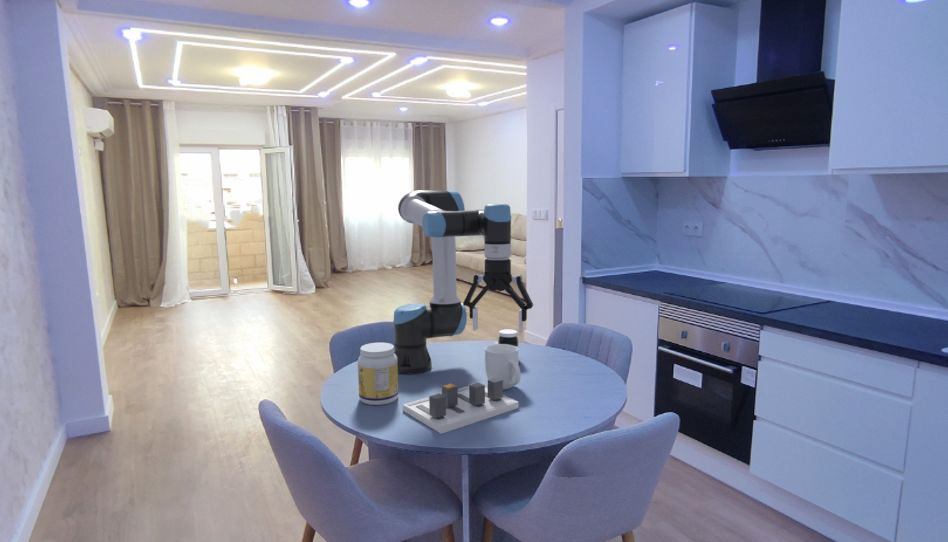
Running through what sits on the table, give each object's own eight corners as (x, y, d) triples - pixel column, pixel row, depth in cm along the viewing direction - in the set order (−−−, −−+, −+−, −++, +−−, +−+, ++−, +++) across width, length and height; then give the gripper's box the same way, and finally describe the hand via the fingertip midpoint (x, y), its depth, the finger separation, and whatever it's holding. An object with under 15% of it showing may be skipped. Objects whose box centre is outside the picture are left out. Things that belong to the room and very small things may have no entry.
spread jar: (519, 365, 204) (519, 335, 203) (488, 365, 205) (488, 335, 203) (517, 355, 216) (517, 326, 215) (488, 355, 216) (488, 327, 215)
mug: (532, 391, 178) (532, 352, 176) (505, 398, 172) (505, 358, 170) (505, 378, 190) (505, 342, 188) (478, 385, 184) (478, 347, 182)
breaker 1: (429, 415, 154) (429, 396, 153) (439, 411, 156) (439, 393, 155) (435, 418, 151) (435, 399, 150) (446, 415, 153) (445, 396, 153)
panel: (403, 410, 163) (402, 403, 163) (477, 389, 180) (477, 383, 180) (441, 433, 147) (441, 426, 147) (518, 408, 164) (518, 401, 164)
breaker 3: (469, 402, 162) (469, 385, 161) (478, 400, 164) (478, 382, 163) (475, 406, 160) (475, 387, 159) (484, 403, 162) (484, 385, 161)
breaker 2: (442, 404, 161) (441, 385, 160) (451, 401, 163) (451, 383, 162) (448, 407, 159) (447, 388, 158) (457, 404, 161) (457, 385, 160)
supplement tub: (355, 395, 176) (353, 344, 173) (392, 389, 180) (391, 339, 178) (363, 409, 165) (361, 354, 162) (403, 402, 169) (401, 349, 167)
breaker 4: (487, 397, 166) (487, 379, 166) (496, 394, 168) (496, 377, 168) (494, 400, 164) (494, 382, 163) (502, 397, 166) (502, 380, 165)
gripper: (452, 258, 157) (453, 331, 160) (539, 260, 150) (538, 336, 153) (459, 256, 164) (460, 325, 167) (543, 257, 157) (542, 330, 160)
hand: (497, 330), depth 160 cm, fingers open, 13 cm apart
